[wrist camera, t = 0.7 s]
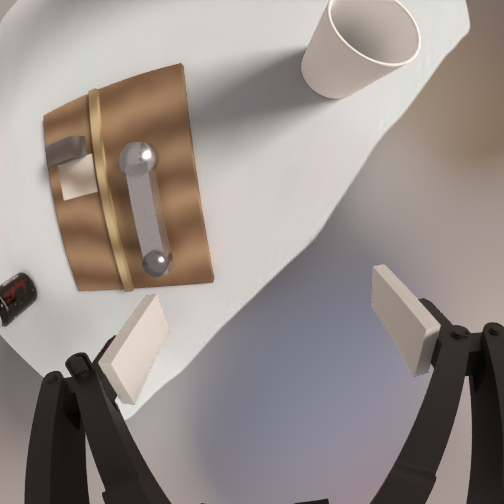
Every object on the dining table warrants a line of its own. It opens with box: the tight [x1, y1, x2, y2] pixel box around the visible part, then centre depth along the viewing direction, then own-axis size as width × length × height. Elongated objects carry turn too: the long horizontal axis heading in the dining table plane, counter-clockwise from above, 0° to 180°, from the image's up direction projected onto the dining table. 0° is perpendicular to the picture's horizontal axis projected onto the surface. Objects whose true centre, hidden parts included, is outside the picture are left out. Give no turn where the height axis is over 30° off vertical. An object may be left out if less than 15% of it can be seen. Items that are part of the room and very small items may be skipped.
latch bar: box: [119, 142, 174, 277], centre depth 32 cm, size 17×4×3 cm, turn 7°
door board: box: [43, 63, 214, 292], centre depth 33 cm, size 30×24×5 cm
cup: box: [301, 0, 421, 99], centre depth 22 cm, size 8×8×16 cm
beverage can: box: [0, 273, 37, 327], centre depth 37 cm, size 7×7×12 cm
